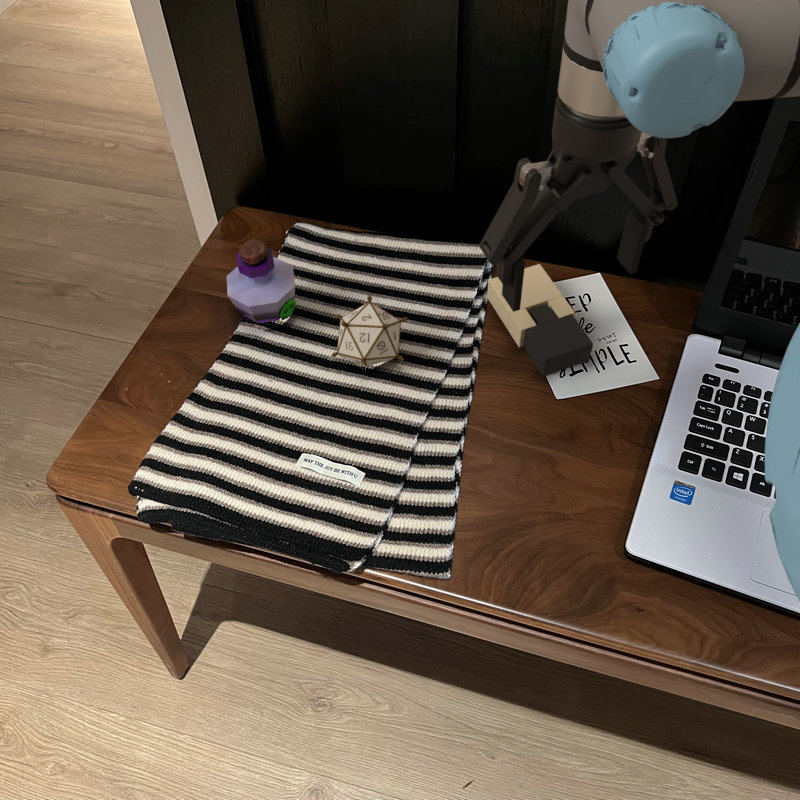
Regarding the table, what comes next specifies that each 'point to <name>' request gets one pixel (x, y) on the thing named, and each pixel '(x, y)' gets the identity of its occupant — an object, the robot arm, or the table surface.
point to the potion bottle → (261, 284)
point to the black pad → (556, 341)
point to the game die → (369, 335)
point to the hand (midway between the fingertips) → (569, 283)
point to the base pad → (528, 301)
